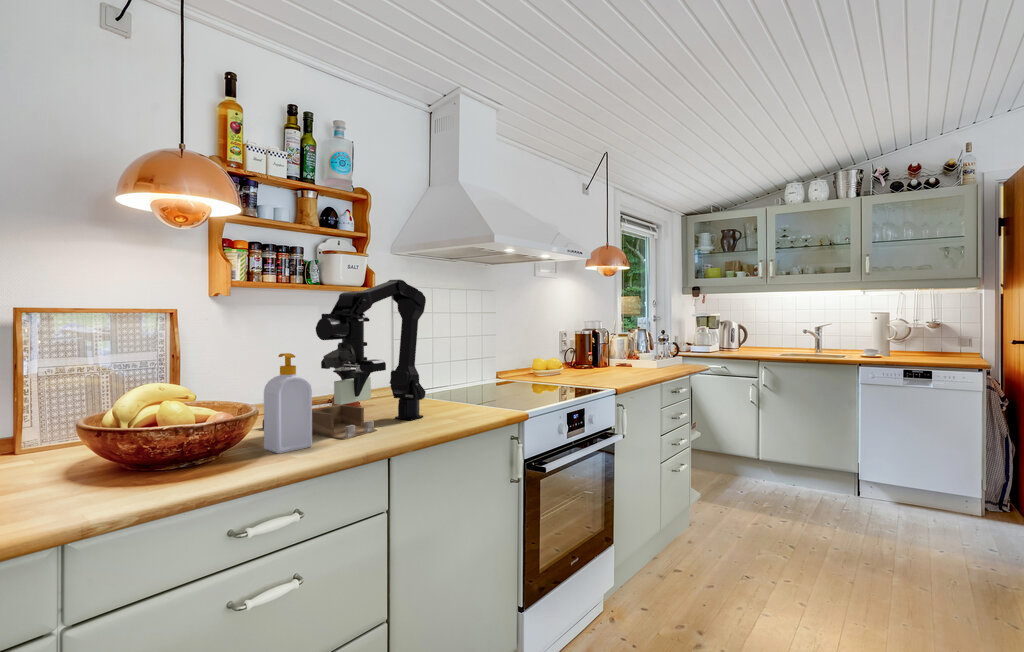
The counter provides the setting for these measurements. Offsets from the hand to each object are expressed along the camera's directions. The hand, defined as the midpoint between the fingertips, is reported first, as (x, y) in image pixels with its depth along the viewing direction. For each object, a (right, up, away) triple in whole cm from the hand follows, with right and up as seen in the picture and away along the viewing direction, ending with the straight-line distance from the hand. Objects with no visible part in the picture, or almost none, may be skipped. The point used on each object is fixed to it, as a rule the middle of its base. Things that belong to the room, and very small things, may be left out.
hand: (353, 396), depth 144 cm
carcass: (-3, -10, +2) cm, 11 cm away
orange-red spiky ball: (-9, -10, +24) cm, 27 cm away
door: (0, -1, 0) cm, 1 cm away
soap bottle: (-11, -11, -15) cm, 22 cm away
